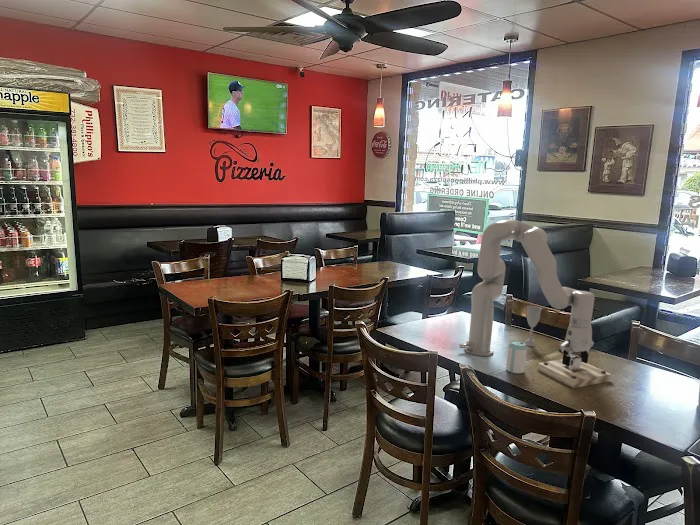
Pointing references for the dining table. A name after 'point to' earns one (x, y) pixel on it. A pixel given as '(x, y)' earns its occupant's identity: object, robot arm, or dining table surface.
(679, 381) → the dining table surface
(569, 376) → the plate
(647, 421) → the dining table surface
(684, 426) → the dining table surface
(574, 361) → the bushing
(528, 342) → the chalice
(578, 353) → the burger
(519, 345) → the can
